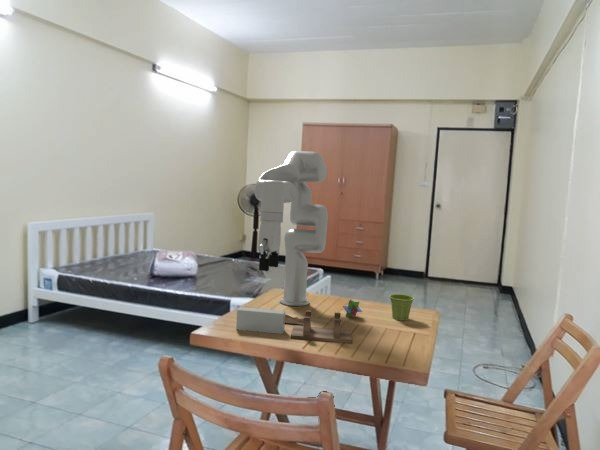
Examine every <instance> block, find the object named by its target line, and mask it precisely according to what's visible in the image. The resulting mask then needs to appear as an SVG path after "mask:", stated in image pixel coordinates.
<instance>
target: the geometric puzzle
mask: <svg viewBox="0 0 600 450" xmlns="http://www.w3.org/2000/svg"><path fill="white" fill-rule="evenodd" d="M359 305H360V301H354V300H352V299H349V300H348V302H347V303H346V305H342V308H343V310H344V312H346V313H345V317H349V318H350V319H351V318H353V319H354V320H355V319H356V318H357V316H359V315H360V314H361V313H363V310H362V309H361V308H360V307H359ZM358 313H359V314H358Z"/></svg>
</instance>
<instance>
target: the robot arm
mask: <svg viewBox="0 0 600 450" xmlns="http://www.w3.org/2000/svg"><path fill="white" fill-rule="evenodd" d="M327 175H328V169H327V164H326V163H325V160H324V159H323V157H322V155H321V154H320V153H319V152H316V151H309V150H308V151H306V150H305V151H304V150H293V151H291V152H289V153H288V154H286V157H284V160H283V161H282V162H281V164H280V165H279V166H277V167H274V168H271V169H268V170H266V171H265V172H263V173H262V174H261V175H260V176H259V178H258V179H257V181H256V183H255V186H254V189H253V190H254V196H255V198H256V199H257V201H260V216H259V217H260V218H259V219H260V221H259V222H260V226H259V230H258V231H259V234H258V238H257V239H258V241H257V251H258V253H259V263H258V266H259V267H258V269H259V270H258V271H263V272H269V270H270V267H271V268H278V267H279V264H280V263H279V259H280V248H281V239H282V238H281V237H282V236H281V233H282V232H281V230H282V227H281V224H282V223H283V222H284V208H285V204H289V203H290V211H289V212H290V213H289V219H290V223H291V224H292V225H294V226H299V227H300V226H301V227H312V228H315V229H305V228H290V229H288V230H286V232H285V234H284V237H283V238H284V239H283V240H284V250H285V263H284V265H285V266H284V283H283V284H284V285H283V286H284V287H283V297H281V298H279V302H280V303H281V304H282V305H286V306H292V307H302V306H303V307H304V306H308V305H309V304H310V299H308V298H307V286H308V284H307V282H308V268H309V267H308V266H309V262H308V260H307V257H306V256H305V254H304V253H312V254H313V253H314V254H318V253H319V254H321V253H323V252H325V249H326V246H327V245H326V244H327V232H328V222H329V220H328V219H329V216H328V215H329V214H328V209H327V206H325V205H323V204H316V203H312V196H313V195H312V194H313V193H312V190H311V188H310V186H309V185H308V184H307V182H308V183H322V182H324V181H325V180H326V178H327Z"/></svg>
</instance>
